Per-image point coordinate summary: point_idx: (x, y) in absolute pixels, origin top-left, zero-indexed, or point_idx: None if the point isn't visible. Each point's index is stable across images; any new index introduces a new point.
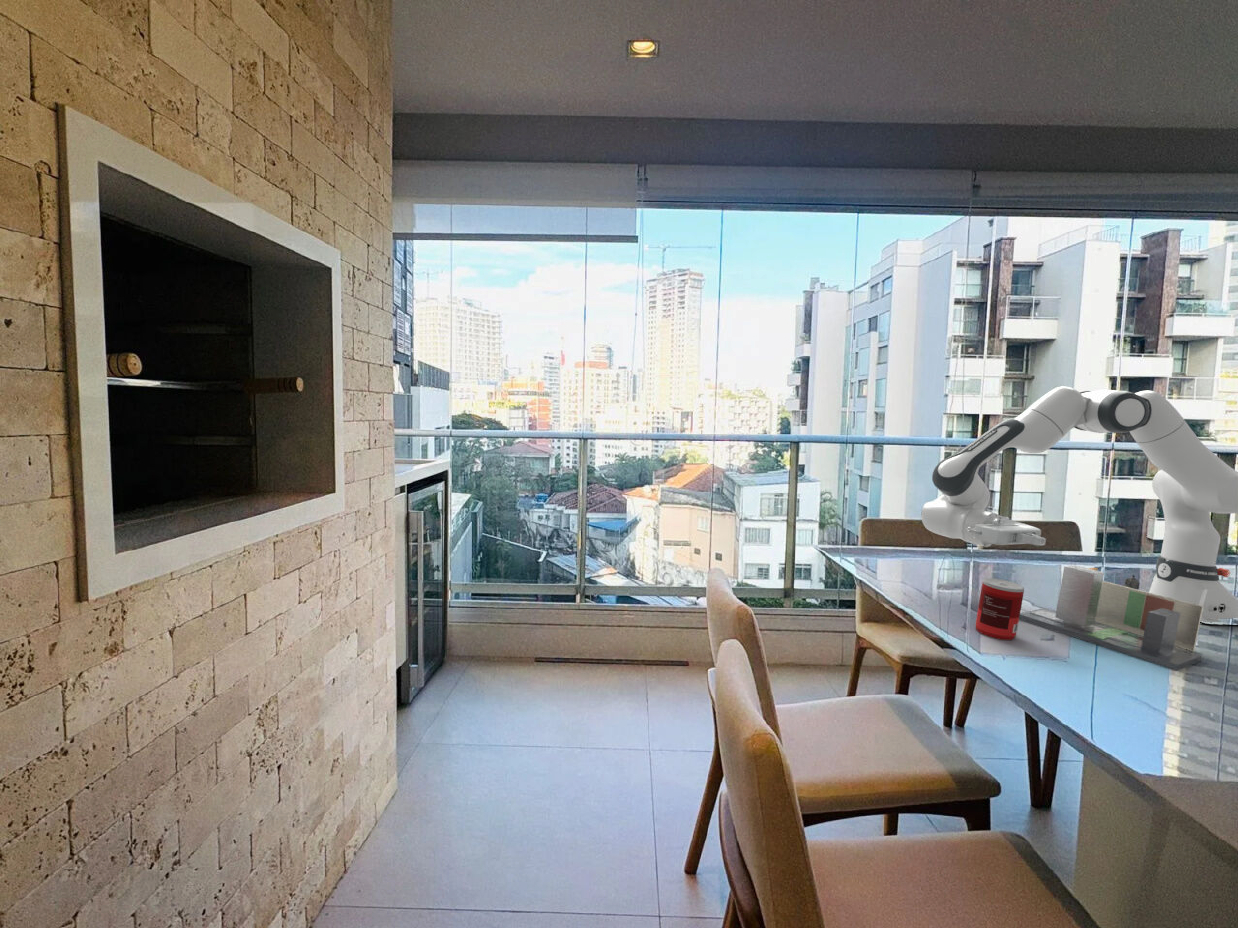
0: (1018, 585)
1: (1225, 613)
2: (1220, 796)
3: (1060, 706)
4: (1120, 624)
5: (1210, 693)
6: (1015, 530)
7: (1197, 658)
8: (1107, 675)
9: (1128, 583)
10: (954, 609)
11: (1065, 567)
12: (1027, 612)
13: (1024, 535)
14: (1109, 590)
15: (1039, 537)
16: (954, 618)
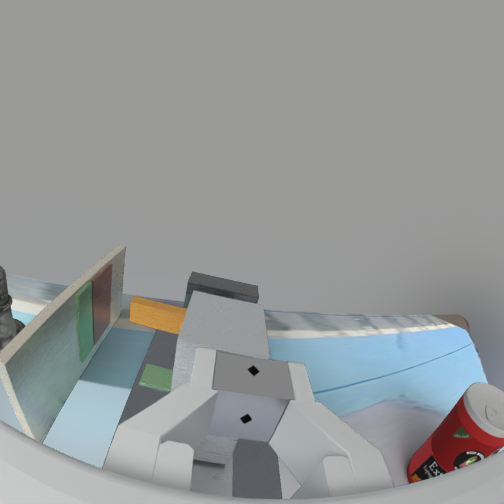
0: (470, 397)
1: None
2: (443, 315)
3: (468, 360)
4: (79, 367)
5: (302, 318)
6: (452, 473)
7: None
8: (381, 366)
9: (1, 283)
10: None
11: (269, 357)
12: None
13: (364, 445)
14: (56, 329)
15: (249, 370)
16: None
